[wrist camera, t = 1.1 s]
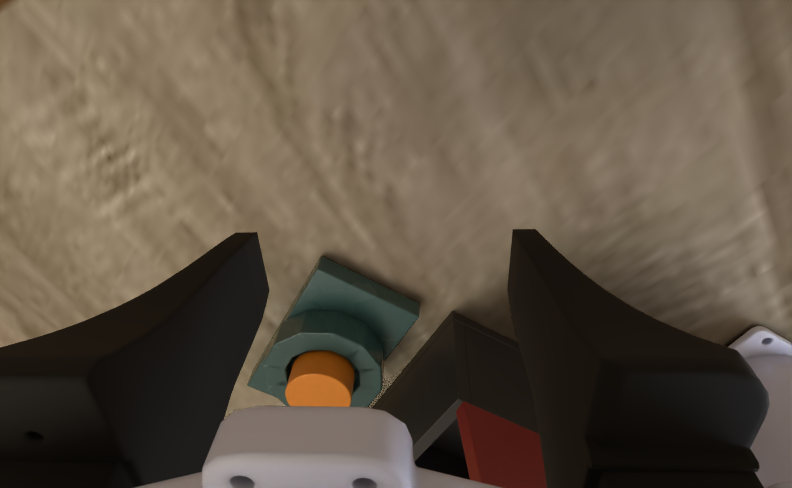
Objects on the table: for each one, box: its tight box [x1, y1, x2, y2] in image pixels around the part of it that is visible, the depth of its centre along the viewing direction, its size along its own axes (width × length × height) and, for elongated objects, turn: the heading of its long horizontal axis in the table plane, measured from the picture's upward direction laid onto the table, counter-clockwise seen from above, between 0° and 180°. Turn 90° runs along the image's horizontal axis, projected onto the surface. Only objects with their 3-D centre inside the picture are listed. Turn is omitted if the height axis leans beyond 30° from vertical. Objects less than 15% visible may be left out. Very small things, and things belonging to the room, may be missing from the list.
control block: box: [248, 256, 419, 407], centre depth 29 cm, size 6×10×3 cm, turn 150°
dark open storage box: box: [372, 312, 539, 480], centre depth 30 cm, size 10×12×6 cm
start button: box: [285, 350, 355, 407], centre depth 27 cm, size 3×3×2 cm
